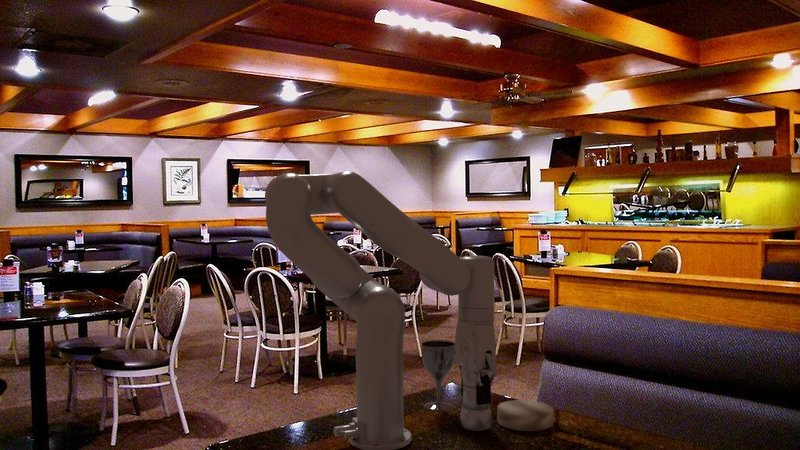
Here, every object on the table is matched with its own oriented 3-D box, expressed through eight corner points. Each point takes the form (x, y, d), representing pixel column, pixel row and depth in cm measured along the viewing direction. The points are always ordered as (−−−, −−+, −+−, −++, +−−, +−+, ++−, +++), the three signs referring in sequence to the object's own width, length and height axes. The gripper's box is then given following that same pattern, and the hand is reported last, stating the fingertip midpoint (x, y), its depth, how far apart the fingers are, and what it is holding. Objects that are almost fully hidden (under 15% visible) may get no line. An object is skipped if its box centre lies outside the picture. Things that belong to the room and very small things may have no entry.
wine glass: (415, 407, 157) (414, 344, 157) (434, 399, 164) (433, 338, 163) (443, 413, 152) (442, 348, 152) (462, 405, 159) (461, 342, 158)
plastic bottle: (481, 437, 137) (482, 340, 136) (453, 430, 141) (454, 336, 140) (497, 428, 142) (498, 335, 141) (469, 422, 146) (470, 331, 145)
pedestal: (517, 434, 139) (517, 420, 138) (487, 417, 150) (487, 404, 149) (564, 426, 143) (564, 412, 143) (532, 410, 154) (531, 397, 154)
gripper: (441, 309, 147) (441, 391, 148) (481, 322, 131) (481, 413, 132) (471, 307, 150) (470, 387, 151) (514, 319, 134) (513, 409, 135)
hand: (475, 398), depth 141 cm, fingers closed on plastic bottle, 5 cm apart
